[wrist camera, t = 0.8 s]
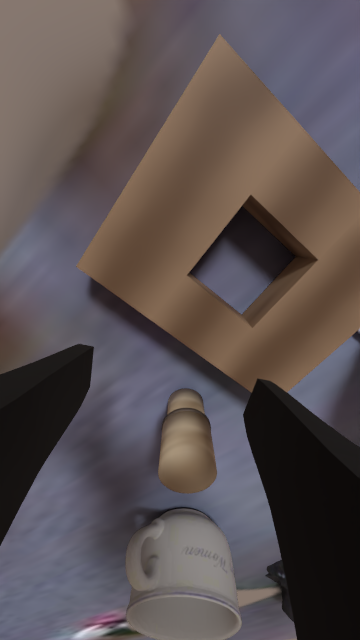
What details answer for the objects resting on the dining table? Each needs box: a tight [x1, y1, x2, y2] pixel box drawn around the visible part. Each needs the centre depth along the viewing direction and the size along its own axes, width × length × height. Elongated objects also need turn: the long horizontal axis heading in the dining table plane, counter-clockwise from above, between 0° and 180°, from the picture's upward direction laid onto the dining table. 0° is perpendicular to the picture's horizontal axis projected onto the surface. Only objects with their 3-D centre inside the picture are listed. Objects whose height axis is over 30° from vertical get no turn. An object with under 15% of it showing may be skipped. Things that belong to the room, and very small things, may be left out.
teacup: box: [125, 508, 242, 640], centre depth 24 cm, size 14×11×8 cm
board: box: [76, 34, 360, 393], centre depth 16 cm, size 18×14×3 cm
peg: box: [158, 389, 217, 493], centre depth 19 cm, size 4×4×7 cm
